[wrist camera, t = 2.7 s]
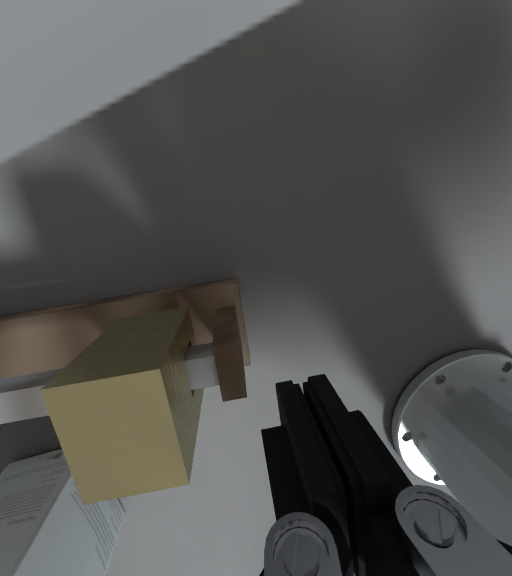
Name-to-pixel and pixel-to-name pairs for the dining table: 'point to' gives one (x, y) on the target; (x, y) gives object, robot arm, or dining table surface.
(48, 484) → the skincare box
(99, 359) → the yellow rectangular block
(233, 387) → the rod stand
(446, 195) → the dining table surface
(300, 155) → the dining table surface
